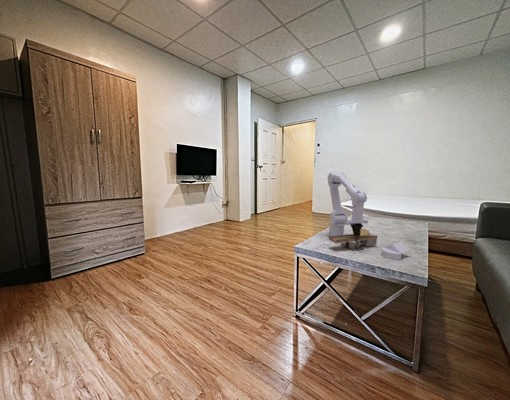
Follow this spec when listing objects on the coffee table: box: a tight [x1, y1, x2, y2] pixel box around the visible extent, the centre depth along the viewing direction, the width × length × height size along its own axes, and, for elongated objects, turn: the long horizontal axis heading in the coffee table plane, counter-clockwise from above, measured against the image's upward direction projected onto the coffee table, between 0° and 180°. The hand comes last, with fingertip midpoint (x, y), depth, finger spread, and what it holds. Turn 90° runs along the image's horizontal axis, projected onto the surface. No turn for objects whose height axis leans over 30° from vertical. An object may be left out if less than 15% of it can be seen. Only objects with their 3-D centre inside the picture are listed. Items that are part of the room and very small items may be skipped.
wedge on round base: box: [380, 241, 410, 261], centre depth 113 cm, size 9×7×13 cm
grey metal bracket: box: [340, 234, 365, 252], centre depth 125 cm, size 10×8×6 cm
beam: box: [328, 232, 378, 247], centre depth 125 cm, size 6×29×6 cm, turn 106°
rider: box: [357, 228, 370, 237], centre depth 126 cm, size 4×6×4 cm, turn 106°
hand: (355, 235), depth 125 cm, fingers closed
